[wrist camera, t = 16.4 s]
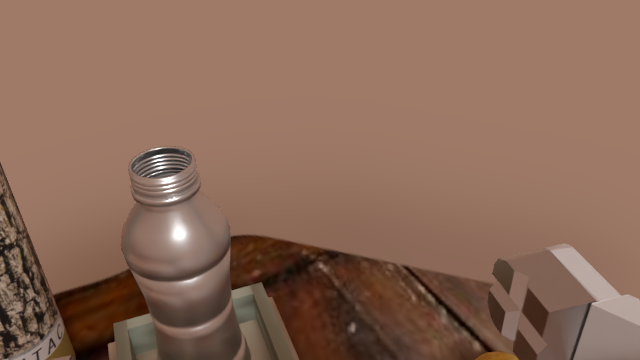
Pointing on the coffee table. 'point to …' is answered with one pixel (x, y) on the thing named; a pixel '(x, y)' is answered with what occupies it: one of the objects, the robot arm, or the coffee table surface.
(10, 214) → the paper tube
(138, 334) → the bottle stand
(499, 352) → the bread roll
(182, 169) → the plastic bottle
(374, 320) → the coffee table surface
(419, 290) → the coffee table surface
